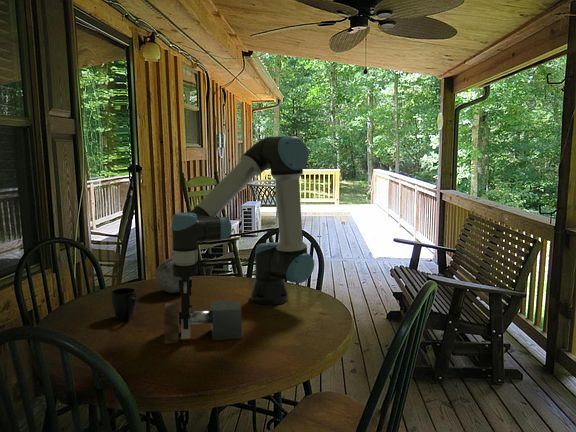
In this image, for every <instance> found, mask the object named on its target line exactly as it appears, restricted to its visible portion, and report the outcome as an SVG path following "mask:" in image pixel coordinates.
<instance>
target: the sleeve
mask: <svg viewBox="0 0 576 432" xmlns="http://www.w3.org/2000/svg"><path fill="white" fill-rule="evenodd" d="M210 305H211V306H210V310H212V323H210V326H211V328H210V329H211V337H212V341H221V340H232V339H233V340H236V339H242V306H241V303H240V301H239V300H238V299H237V300H223V301H222V300H219V301H218V300H217V301H216V300H215V301H210Z"/></svg>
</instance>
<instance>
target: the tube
mask: <svg viewBox="0 0 576 432" xmlns="http://www.w3.org/2000/svg"><path fill="white" fill-rule="evenodd" d="M179 317H181V311H180V312H179V311H178V325H179V326H181V319H179ZM211 323H212V310H211V309H210V310H195V311H190V325H201V324H204V325H205V324H211Z"/></svg>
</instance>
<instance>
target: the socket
mask: <svg viewBox="0 0 576 432" xmlns="http://www.w3.org/2000/svg"><path fill="white" fill-rule="evenodd" d="M178 312H179V303H178V302H170V303H169V302H168V303H165V305H164V311H163V328H164V329H163V330H164V331H163V332H164V337H163V338H164V339H163V340H164V344H178V343H179V334H180V333H179V332H180V329H179V328H180V327H179V326H180V325H178Z"/></svg>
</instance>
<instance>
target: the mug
mask: <svg viewBox="0 0 576 432" xmlns="http://www.w3.org/2000/svg"><path fill="white" fill-rule="evenodd" d="M110 295H111V296H110V299H111V300H110V301H111V307H112V310H113V314H114V316H115V319H117V320H121V321H122V320H123V321H124V320H130V319H132V318H133V316H134V312H135V309H136V304H137V290H136V289H135V288H133V287H120V288H117V289H113V290H112V291H111V293H110Z"/></svg>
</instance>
